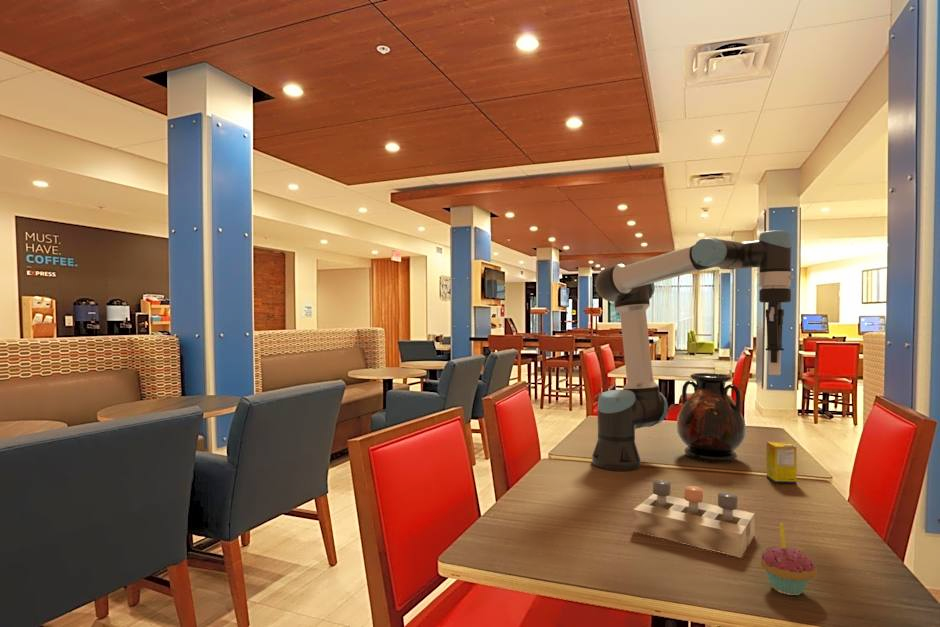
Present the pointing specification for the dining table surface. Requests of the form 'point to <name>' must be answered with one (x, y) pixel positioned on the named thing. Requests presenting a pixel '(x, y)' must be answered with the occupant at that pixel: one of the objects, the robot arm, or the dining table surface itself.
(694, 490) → the terracotta plug
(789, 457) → the supplement box
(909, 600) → the dining table surface
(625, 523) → the dining table surface
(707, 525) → the panel
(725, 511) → the charcoal plug right
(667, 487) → the charcoal plug left
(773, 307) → the robot arm
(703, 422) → the amphora vase
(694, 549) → the dining table surface
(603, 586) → the dining table surface
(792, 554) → the cupcake
